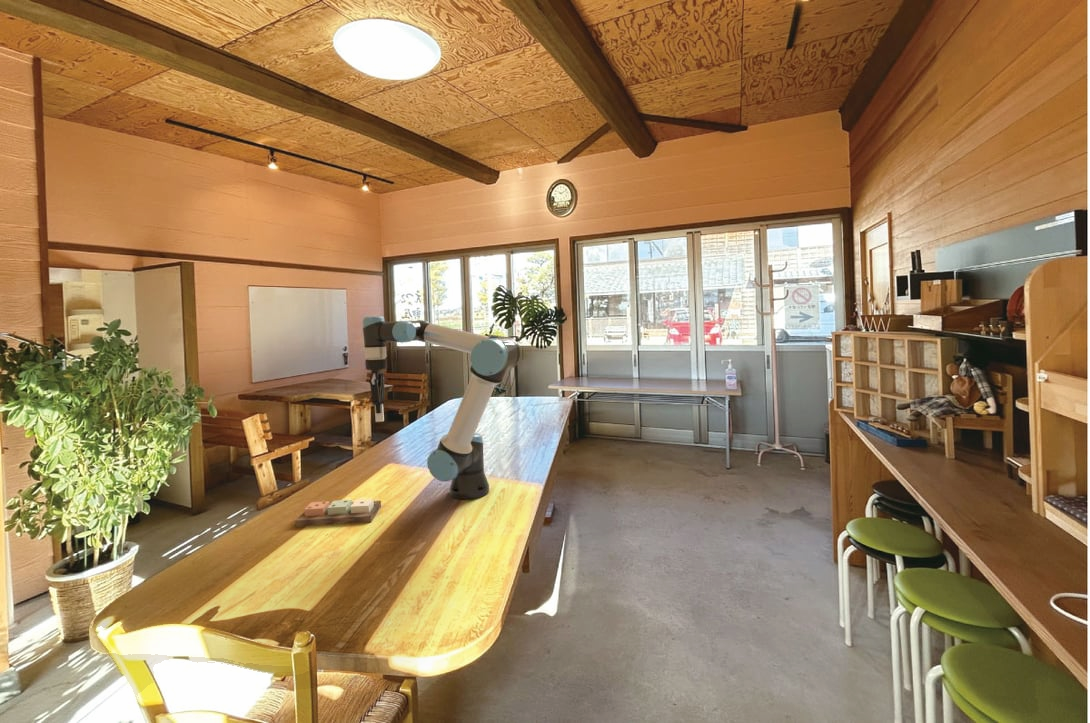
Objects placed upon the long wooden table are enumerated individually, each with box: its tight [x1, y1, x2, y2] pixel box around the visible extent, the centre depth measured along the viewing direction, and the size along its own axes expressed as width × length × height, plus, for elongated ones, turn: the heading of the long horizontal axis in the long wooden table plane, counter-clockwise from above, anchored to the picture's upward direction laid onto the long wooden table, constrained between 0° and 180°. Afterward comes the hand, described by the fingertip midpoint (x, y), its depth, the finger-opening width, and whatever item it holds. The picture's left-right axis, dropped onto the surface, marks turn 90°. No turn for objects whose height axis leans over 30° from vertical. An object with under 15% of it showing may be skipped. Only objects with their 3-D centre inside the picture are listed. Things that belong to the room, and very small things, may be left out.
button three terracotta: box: [303, 501, 331, 516], centre depth 160 cm, size 6×6×3 cm
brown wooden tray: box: [295, 500, 382, 528], centre depth 161 cm, size 24×13×2 cm, turn 95°
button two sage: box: [327, 499, 353, 515], centre depth 160 cm, size 6×6×3 cm
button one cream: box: [350, 498, 375, 513], centre depth 161 cm, size 6×6×3 cm
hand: (379, 421), depth 174 cm, fingers closed
